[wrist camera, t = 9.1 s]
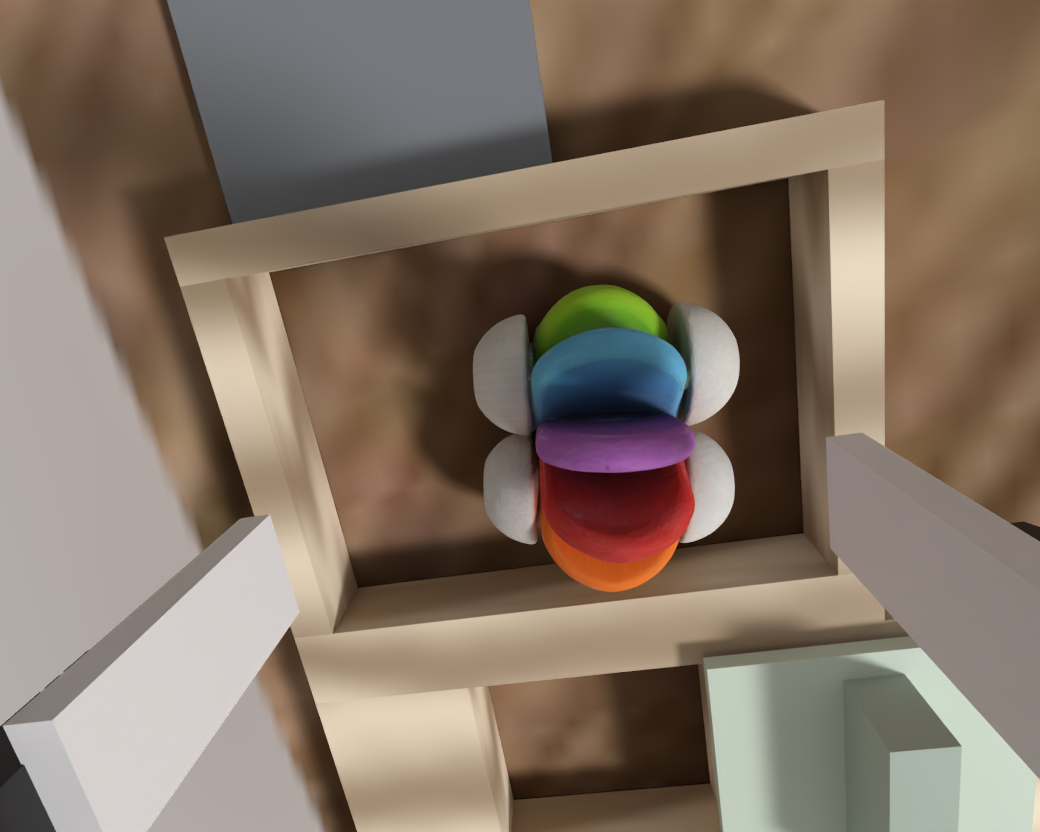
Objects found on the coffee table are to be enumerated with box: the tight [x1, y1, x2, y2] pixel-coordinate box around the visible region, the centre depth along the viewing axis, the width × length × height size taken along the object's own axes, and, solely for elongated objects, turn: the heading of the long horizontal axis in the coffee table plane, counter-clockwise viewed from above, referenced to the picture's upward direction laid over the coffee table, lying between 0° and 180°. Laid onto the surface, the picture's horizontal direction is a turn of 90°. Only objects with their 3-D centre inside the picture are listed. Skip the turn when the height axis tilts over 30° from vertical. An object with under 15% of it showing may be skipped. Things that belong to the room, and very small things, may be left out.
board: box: [164, 100, 1040, 832], centre depth 23 cm, size 30×27×3 cm
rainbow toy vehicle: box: [473, 285, 740, 592], centre depth 19 cm, size 8×10×7 cm
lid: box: [703, 636, 1037, 832], centre depth 20 cm, size 10×11×4 cm
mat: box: [167, 0, 553, 224], centre depth 19 cm, size 11×11×1 cm
